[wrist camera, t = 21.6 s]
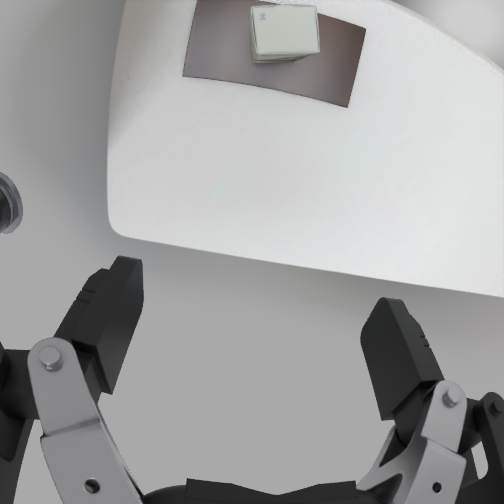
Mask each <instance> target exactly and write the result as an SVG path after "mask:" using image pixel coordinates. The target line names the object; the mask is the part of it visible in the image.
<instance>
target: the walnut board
mask: <svg viewBox="0 0 504 504" xmlns="http://www.w3.org/2000/svg"><path fill="white" fill-rule="evenodd" d="M262 5H280V4H275V3H270V2H264V1H258V0H197V4H196V8H195V13H194V18H193V22H192V27H191V32H190V37H189V42H188V47H187V52H186V58H185V64H184V70H183V76H186V77H196V78H205V79H214V80H221V81H229V82H235V83H242V84H248V85H254V86H259V87H264V88H270V89H275V90H279V91H284V92H289V93H293V94H297V95H302V96H306V97H310V98H314V99H318V100H321V101H325V102H329V103H332V104H336V105H339V106H343V107H346V108H348V104H349V100H350V96H351V92H352V88H353V84H354V80H355V76H356V72H357V67H358V63H359V59H360V55H361V50H362V46H363V41H364V37H365V32H366V29H365V28H363V27H360V26H357V25H354V24H351V23H348V22H345V21H342V20H339V19H336V18H332V17H329V16H326V15H322V14H318V13H317V17H318V27H319V45H320V52H319V53H315V54H312V55H310V56H308V57H305V58H303V59H300V60H297V61H291V62H271V63H254V61H253V55H252V47H251V37H250V15H251V7H252V6H262Z"/></svg>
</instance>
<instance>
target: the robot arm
mask: <svg viewBox="0 0 504 504" xmlns="http://www.w3.org/2000/svg"><path fill="white" fill-rule="evenodd" d="M13 218H14V208H13V204H12V200H11V198H10V196H9V194H8V192H7V191H6V189H5V188H4V187H3V186H2V185H1V184H0V233H1V232H2V231H4V230H5V229H6V228H8V227H9V226H10V225H11V223H12V221H13ZM143 301H144V291H143V266H142V260H141V259H136V258H130V257H125V256H118V257H117V258H116V260H115V261H114V263H113V264H112V266H111V268H110V269H109V270H108V269H103V268H102V269H100V270H98V271H97V272H96V273H94V274H93V275H91V276H90V277H89V278H88V280H87V281H86V283H85V285H84V286H83V288H82V291H80V293H79V294H78V296H77V297H76V300H75V301H74V302H73V304H72V306H71V307H70V309H69V311H68V312H67V314H66V316H65V317H64V319H63V321H62V323H61V324H60V326H59V328H58V330H57V331H56V333H55V335H54V337H52V338H47V339H43V340H41V341H39V342H38V343H37V344H35V345H34V346H33V348H32V349H31V350H9V349H4V347H3V346H2V344H1V342H0V504H13V502H14V496H15V492H16V487H17V481H18V477H19V473H20V469H21V464H22V460H23V456H24V452H25V449H26V445H27V442H28V438H29V435H30V431H31V428H32V425H33V422H34V419H38V420H40V421H41V425H42V429H43V436H41V437H40V442H41V447H42V451H43V454H44V457H45V460H46V463H47V465H48V468H49V471H50V473H51V476H52V479H53V481H54V483H55V486H56V488H57V491H58V493H59V495H60V498H61V500H62V502H63V504H504V400H503V398H502V397H501V396H500V395H498V394H496V393H494V392H488V393H487V394H486V395H485V396H484V397H483V398H482V399H480V400H479V401H478V400H473V399H469V398H466V396H465V393H464V392H463V390H462V389H461V388H460V387H459V386H458V385H457V384H456V383H454V382H452V381H449V380H445V379H444V377H443V375H442V372H441V370H440V368H439V365H438V363H437V361H436V358H435V356H434V354H433V352H432V350H431V348H429V343H428V341H427V339H425V335H424V332H423V330H422V329H421V326H420V325H419V323H418V322H417V321H416V320H415V319H414V318H413V317H412V316H411V315H410V314H409V312H408V310H407V308H406V306H405V304H404V302H403V301H402V300H400V299H393V298H385V297H382V298H380V299H379V300H378V302H377V304H376V305H375V307H374V309H373V311H372V312H371V314H370V316H369V318H368V319H367V321H366V323H365V325H364V326H363V328H362V331H361V337H360V339H361V341H360V342H361V346H362V350H363V353H364V356H365V360H366V363H367V367H368V370H369V374H370V378H371V381H372V385H373V389H374V392H375V396H376V400H377V404H378V408H379V412H380V416H381V420H382V421H383V420H394V421H395V425H394V426H393V427H392V428H391V430H390V431H389V434H388V436H387V438H386V440H385V442H384V444H383V447H382V449H381V451H380V453H379V454H378V457H377V458H376V460H375V462H374V464H373V466H372V468H371V469H370V471H369V472H368V474H366V476H365V477H363V478H362V480H361V481H360V482H359V483H358V484H357V485H356V482H355V481H347V482H338V483H326V484H318V485H314V486H311V487H307V488H304V489H301V490H297V491H293V492H289V493H285V494H281V495H272V494H268V493H264V492H260V491H256V490H252V489H248V488H245V487H242V486H238V485H235V484H232V483H220V482H211V481H203V480H195V479H188V478H187V483H186V485H178V486H171V487H166V488H163V489H159V490H155V491H153V492H151V493H148V494H146V495H144V494H143V492H142V491H141V489H140V487H139V486H138V484H137V482H136V481H135V479H134V477H133V475H132V474H131V472H130V470H129V468H128V466H127V465H126V463H125V461H124V459H123V458H122V456H121V454H120V452H119V450H118V448H117V446H116V444H115V442H114V440H113V438H112V436H111V433H110V431H109V429H108V427H107V425H106V423H105V420H104V418H103V416H102V413H101V411H100V409H99V406H98V404H97V403H98V400H99V397H100V394H101V392H104V393H108V394H111V395H112V394H113V391H114V388H115V385H116V382H117V379H118V375H119V373H120V370H121V367H122V364H123V361H124V358H125V355H126V353H127V350H128V347H129V344H130V341H131V339H132V336H133V333H134V330H135V328H136V325H137V323H138V320H139V318H140V315H141V312H142V307H143ZM481 441H482V444H483V447H484V450H485V454H486V458H487V462H488V471H487V474H486V475H485V476H484V477H483V478H482V479H480V480H479V479H478V476H477V471H476V467H475V463H474V459H473V455H472V451H471V448H472V447H474V446H475V445H477V444H478V443H479V442H481Z"/></svg>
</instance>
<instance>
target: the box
mask: <svg viewBox="0 0 504 504" xmlns="http://www.w3.org/2000/svg"><path fill="white" fill-rule="evenodd" d="M250 37H251V47H252V55H253V61H254V63H271V62H291V61H297V60H300V59H303V58H305V57H308V56H310V55H312V54H315V53H319V52H320V45H319V27H318V17H317V9H316V7H315V6H313V5H292V4H283V5H262V6H252V7H251V15H250Z"/></svg>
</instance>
